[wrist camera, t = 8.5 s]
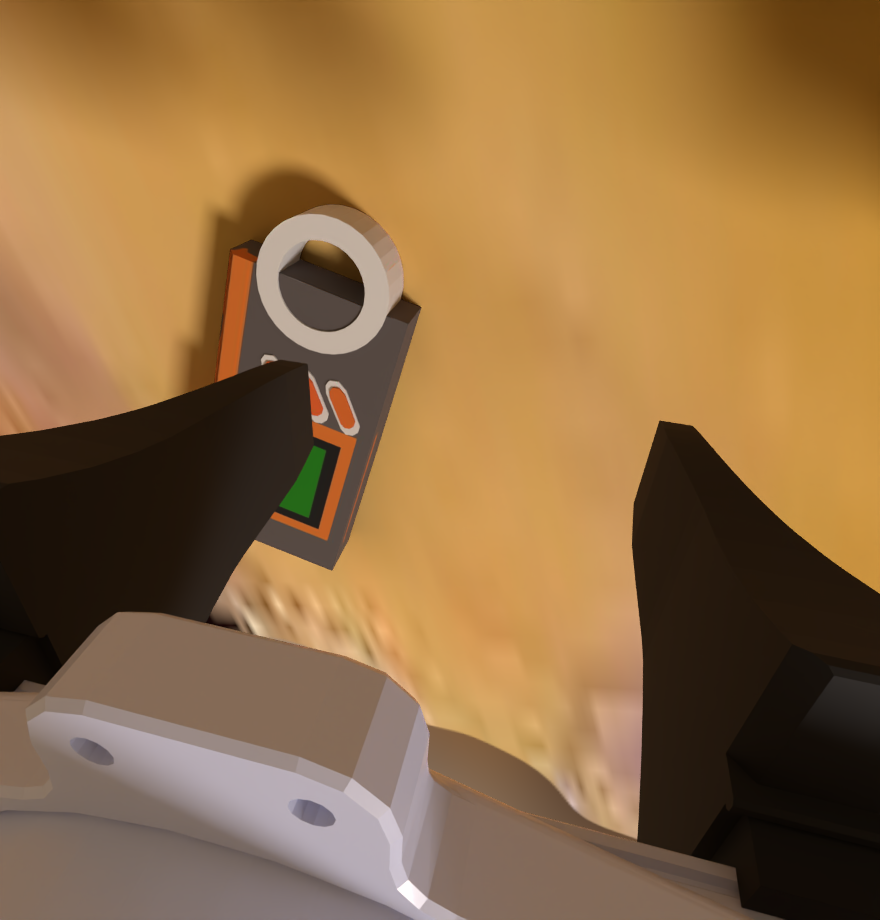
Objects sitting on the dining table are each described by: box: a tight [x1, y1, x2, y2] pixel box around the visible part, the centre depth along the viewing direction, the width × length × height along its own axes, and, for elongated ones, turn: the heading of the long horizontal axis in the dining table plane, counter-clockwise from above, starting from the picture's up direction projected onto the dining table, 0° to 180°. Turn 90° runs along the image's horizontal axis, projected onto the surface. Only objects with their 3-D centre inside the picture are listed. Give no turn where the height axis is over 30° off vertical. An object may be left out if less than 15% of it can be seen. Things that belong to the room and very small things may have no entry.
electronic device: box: [214, 204, 421, 570], centre depth 24 cm, size 7×3×15 cm
